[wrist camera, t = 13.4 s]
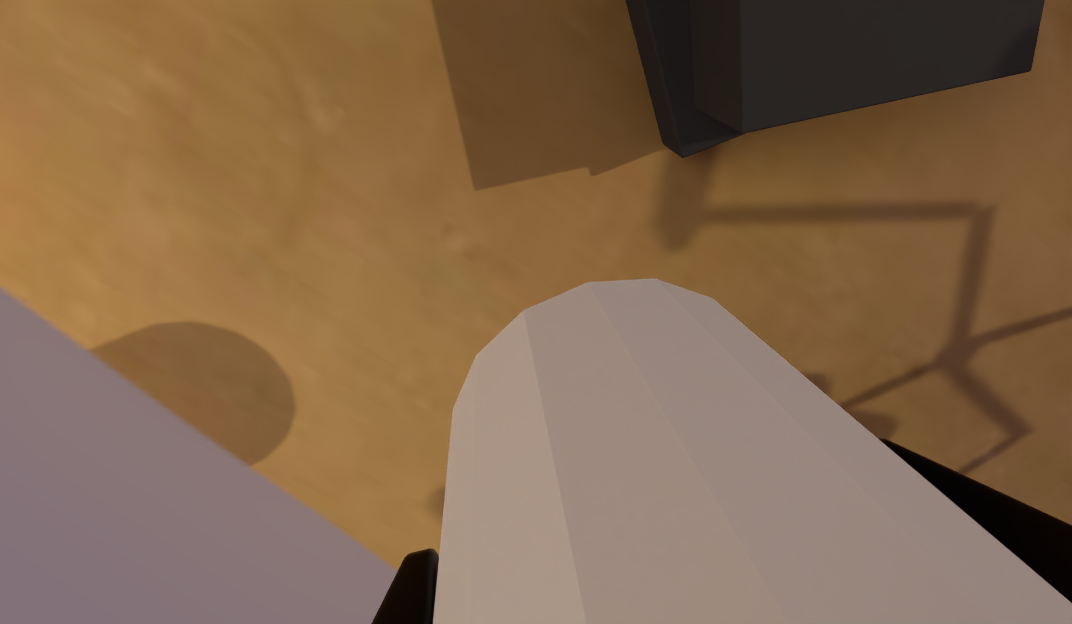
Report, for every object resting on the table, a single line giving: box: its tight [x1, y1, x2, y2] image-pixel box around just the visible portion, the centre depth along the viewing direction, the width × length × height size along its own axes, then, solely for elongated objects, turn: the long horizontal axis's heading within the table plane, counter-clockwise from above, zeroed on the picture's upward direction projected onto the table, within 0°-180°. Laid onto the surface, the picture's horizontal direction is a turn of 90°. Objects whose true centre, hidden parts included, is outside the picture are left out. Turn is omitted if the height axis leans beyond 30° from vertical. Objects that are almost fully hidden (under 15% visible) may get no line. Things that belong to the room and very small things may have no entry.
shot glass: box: [433, 278, 1072, 624], centre depth 8 cm, size 7×7×7 cm
